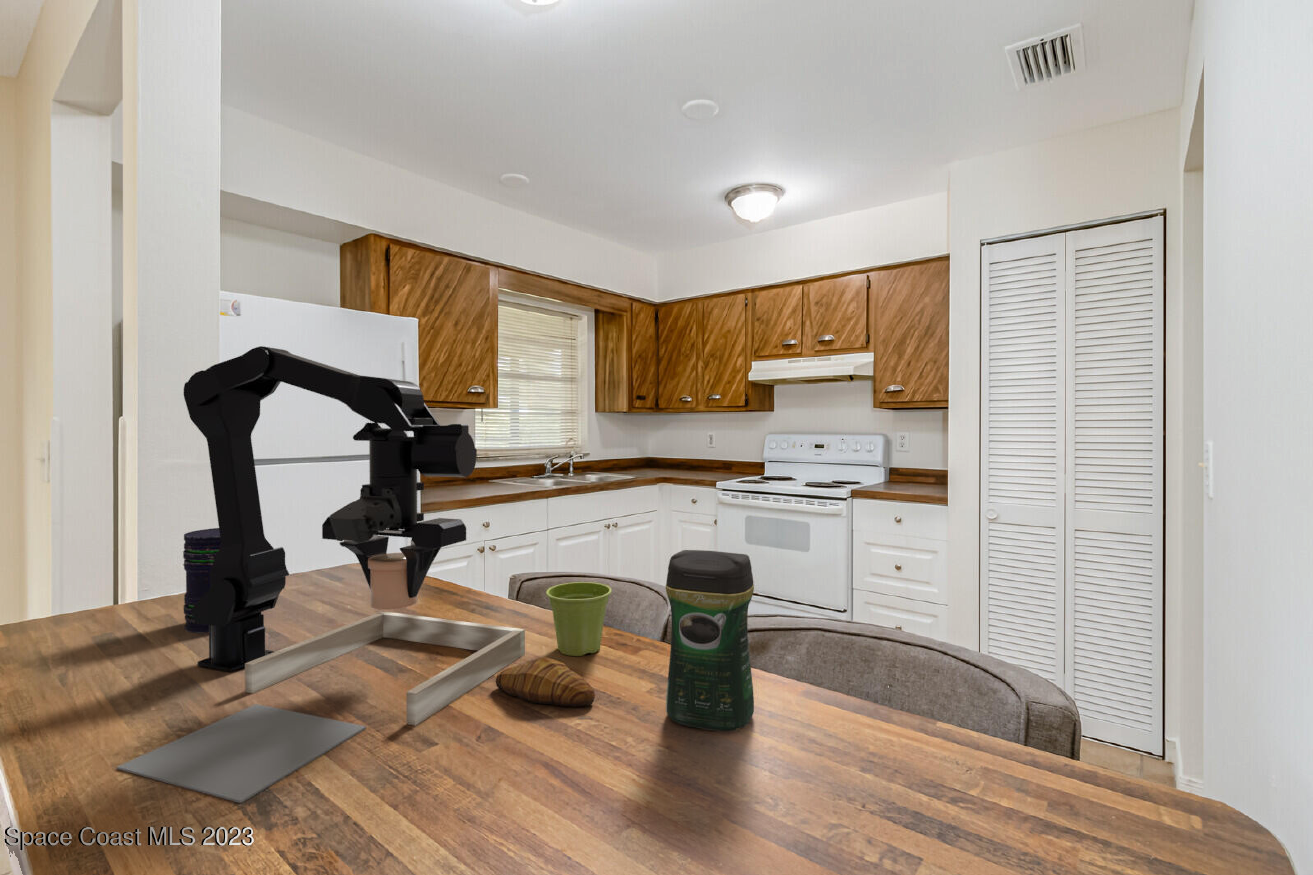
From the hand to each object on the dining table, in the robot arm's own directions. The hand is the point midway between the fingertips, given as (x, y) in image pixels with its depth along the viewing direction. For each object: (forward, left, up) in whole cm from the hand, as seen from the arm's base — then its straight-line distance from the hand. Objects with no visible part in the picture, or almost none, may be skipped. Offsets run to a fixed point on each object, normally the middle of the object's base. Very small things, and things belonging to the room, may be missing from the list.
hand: (394, 595), depth 81 cm
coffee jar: (+42, +2, -10) cm, 43 cm away
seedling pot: (0, 0, -1) cm, 1 cm away
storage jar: (-41, +7, -10) cm, 43 cm away
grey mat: (0, -20, -10) cm, 22 cm away
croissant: (+22, 0, -11) cm, 24 cm away
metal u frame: (0, 0, -10) cm, 10 cm away
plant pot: (+19, +16, -10) cm, 27 cm away
